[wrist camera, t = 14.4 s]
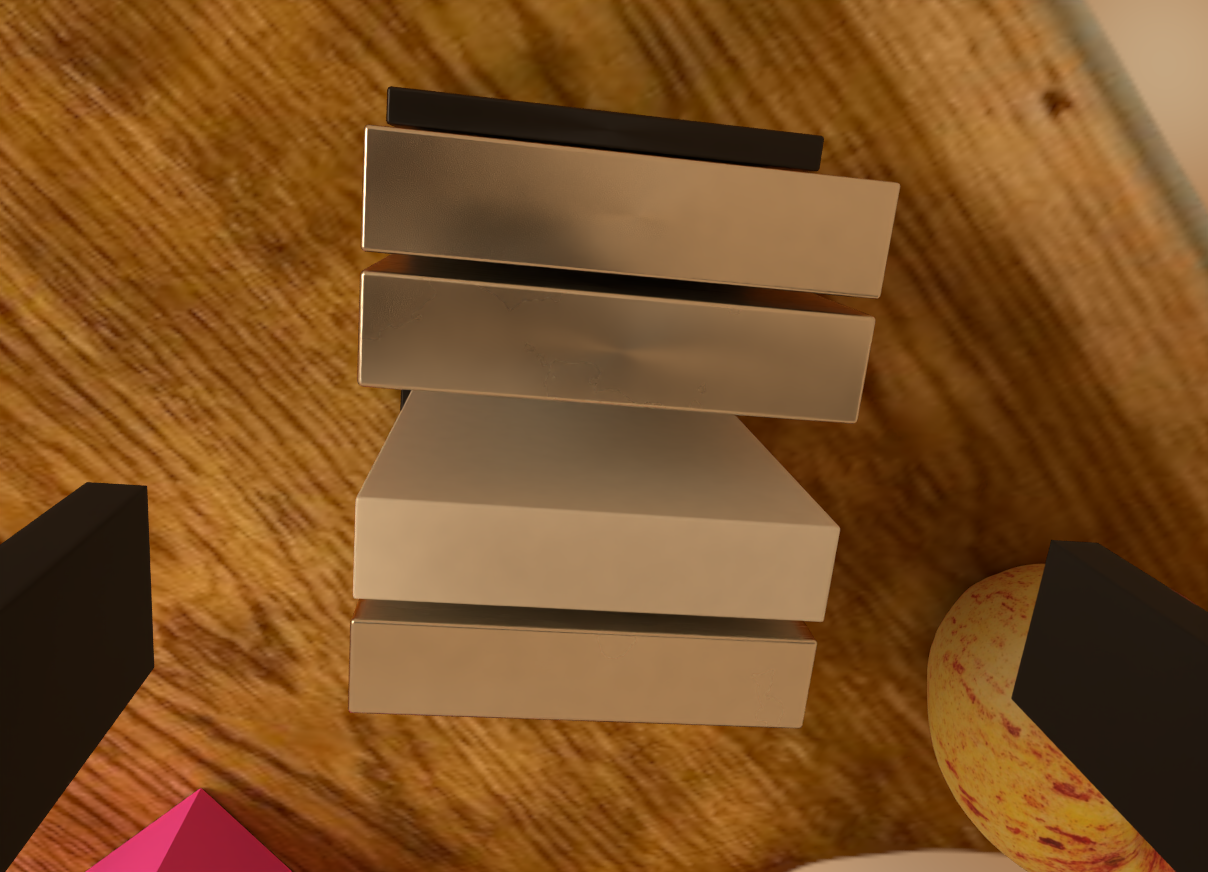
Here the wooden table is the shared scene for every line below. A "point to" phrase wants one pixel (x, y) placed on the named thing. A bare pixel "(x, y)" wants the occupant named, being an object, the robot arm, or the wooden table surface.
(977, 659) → the apple
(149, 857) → the bracket
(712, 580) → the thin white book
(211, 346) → the wooden table surface
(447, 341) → the black book rack
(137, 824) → the wooden table surface
